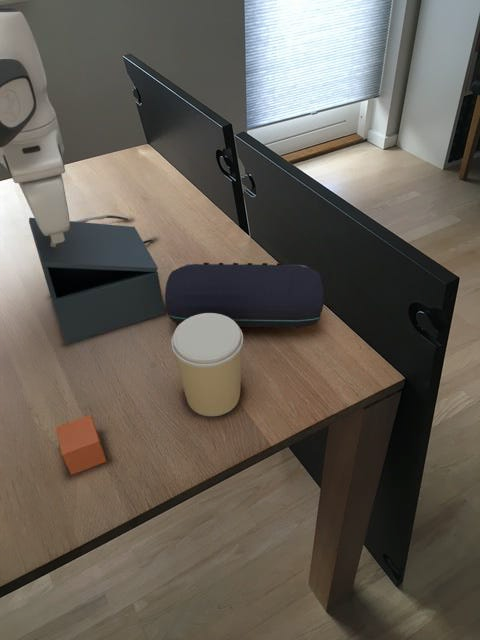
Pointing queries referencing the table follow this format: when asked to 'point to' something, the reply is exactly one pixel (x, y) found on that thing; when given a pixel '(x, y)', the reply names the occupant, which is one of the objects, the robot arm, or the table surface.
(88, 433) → the block
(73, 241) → the lid
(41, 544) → the table surface
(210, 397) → the coffee cup
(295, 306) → the portable speaker
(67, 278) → the open box
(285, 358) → the table surface
